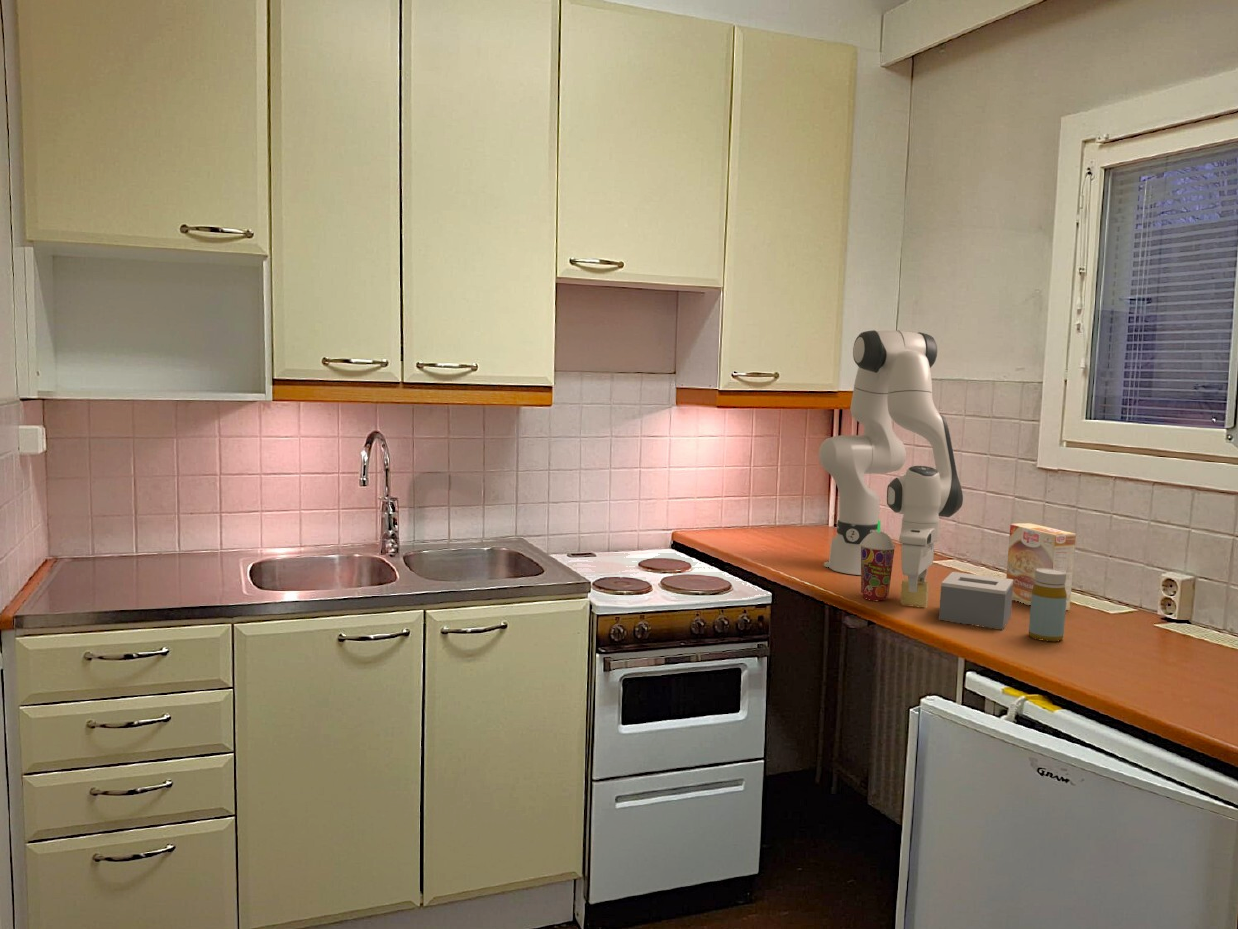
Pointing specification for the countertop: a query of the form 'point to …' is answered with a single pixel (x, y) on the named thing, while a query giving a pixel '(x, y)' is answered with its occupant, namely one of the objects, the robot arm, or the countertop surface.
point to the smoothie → (876, 565)
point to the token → (915, 594)
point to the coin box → (976, 600)
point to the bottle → (1048, 605)
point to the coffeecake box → (1038, 557)
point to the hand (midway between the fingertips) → (917, 588)
